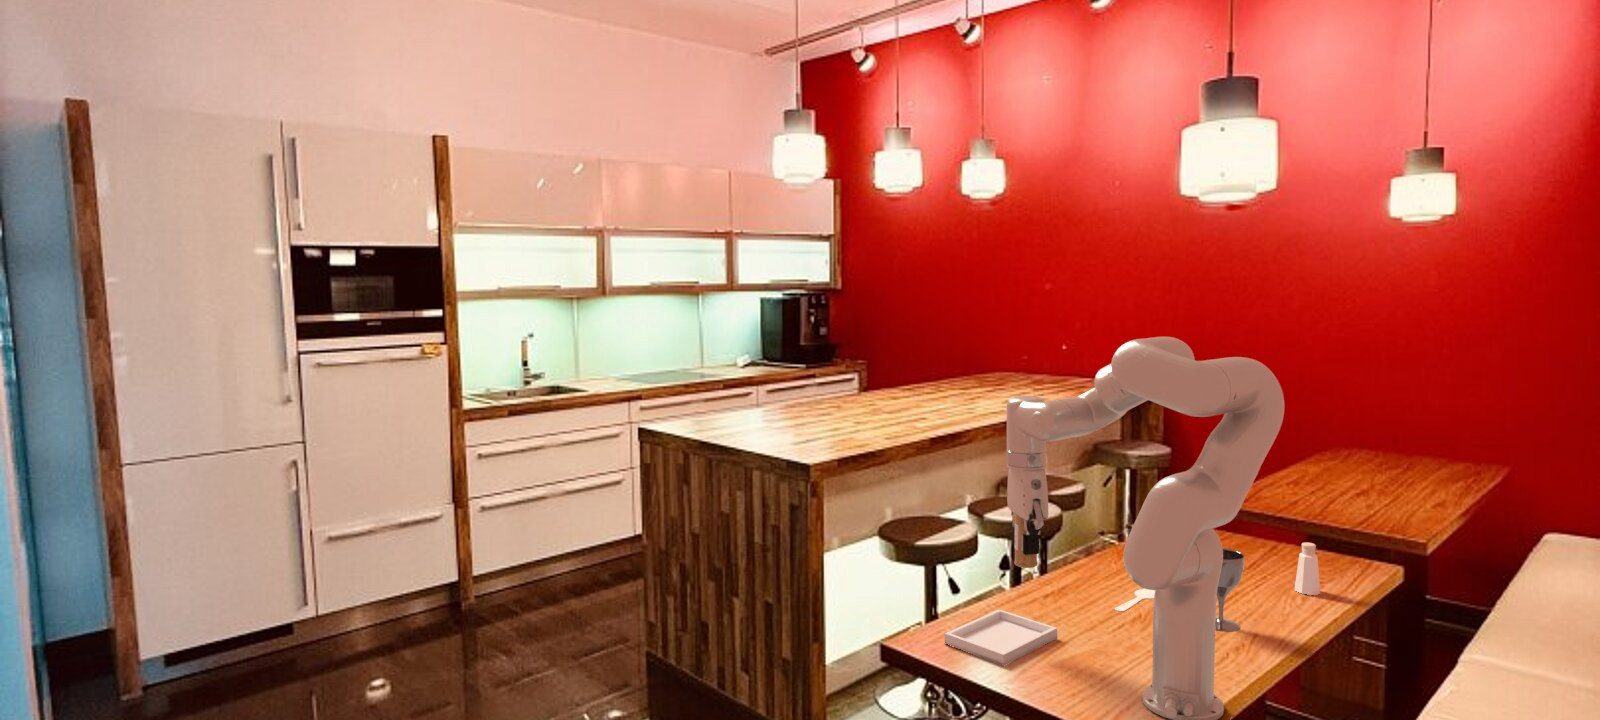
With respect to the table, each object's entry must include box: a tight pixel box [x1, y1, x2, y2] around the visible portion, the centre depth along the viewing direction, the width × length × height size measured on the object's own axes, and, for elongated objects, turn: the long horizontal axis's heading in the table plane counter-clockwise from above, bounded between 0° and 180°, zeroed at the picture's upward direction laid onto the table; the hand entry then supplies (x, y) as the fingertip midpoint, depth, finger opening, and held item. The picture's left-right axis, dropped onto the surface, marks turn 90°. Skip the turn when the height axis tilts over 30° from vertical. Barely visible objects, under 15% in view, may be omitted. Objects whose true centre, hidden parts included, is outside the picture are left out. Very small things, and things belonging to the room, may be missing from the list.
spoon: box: [1114, 588, 1155, 612], centre depth 197 cm, size 5×18×1 cm, turn 133°
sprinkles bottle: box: [1013, 508, 1038, 569], centre depth 176 cm, size 5×5×13 cm
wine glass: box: [1215, 547, 1245, 633], centre depth 182 cm, size 8×8×15 cm
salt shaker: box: [1294, 541, 1321, 596], centre depth 200 cm, size 5×5×11 cm
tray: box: [944, 609, 1058, 667], centre depth 177 cm, size 18×14×2 cm
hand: (1025, 548), depth 176 cm, fingers closed on sprinkles bottle, 4 cm apart
